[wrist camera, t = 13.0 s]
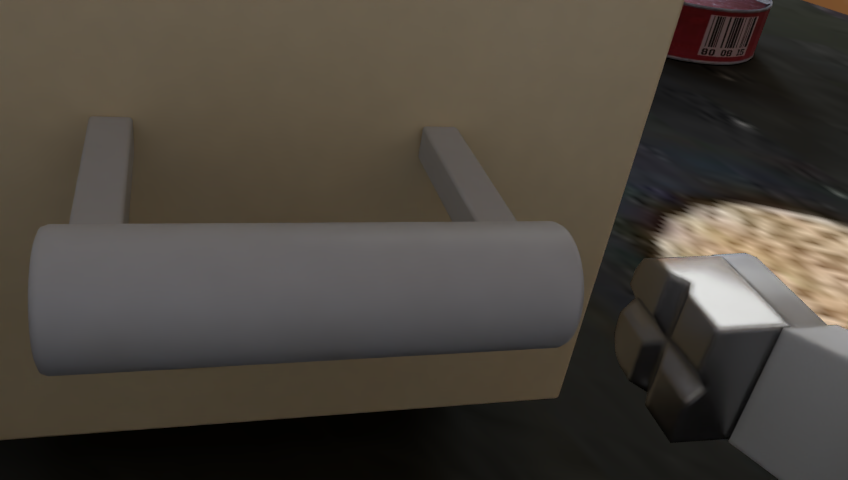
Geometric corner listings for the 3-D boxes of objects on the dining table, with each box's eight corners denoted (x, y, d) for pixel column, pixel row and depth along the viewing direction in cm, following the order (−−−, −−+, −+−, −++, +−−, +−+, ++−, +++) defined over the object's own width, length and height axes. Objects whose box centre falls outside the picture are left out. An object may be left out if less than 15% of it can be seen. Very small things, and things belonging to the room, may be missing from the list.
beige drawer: (667, 597, 14) (950, 32, 9) (-208, 738, 10) (-626, -94, 5) (404, 115, 29) (449, -190, 24) (20, 103, 26) (-24, -261, 21)
